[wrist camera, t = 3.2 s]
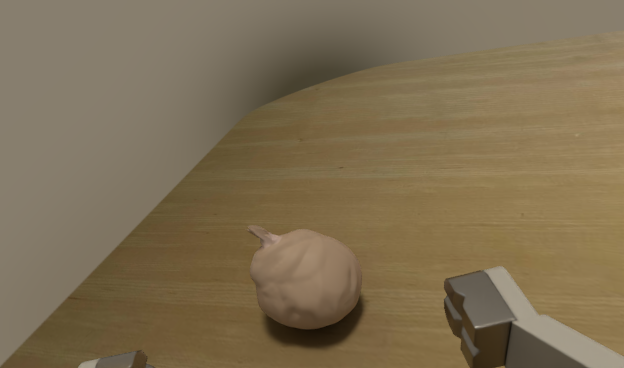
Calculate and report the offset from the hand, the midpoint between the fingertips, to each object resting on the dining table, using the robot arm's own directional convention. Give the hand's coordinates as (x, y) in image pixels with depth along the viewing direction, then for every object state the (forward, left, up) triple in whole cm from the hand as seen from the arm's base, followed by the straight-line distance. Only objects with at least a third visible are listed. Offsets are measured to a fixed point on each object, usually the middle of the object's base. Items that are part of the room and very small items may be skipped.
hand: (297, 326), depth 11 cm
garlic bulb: (+2, +12, -15) cm, 19 cm away
